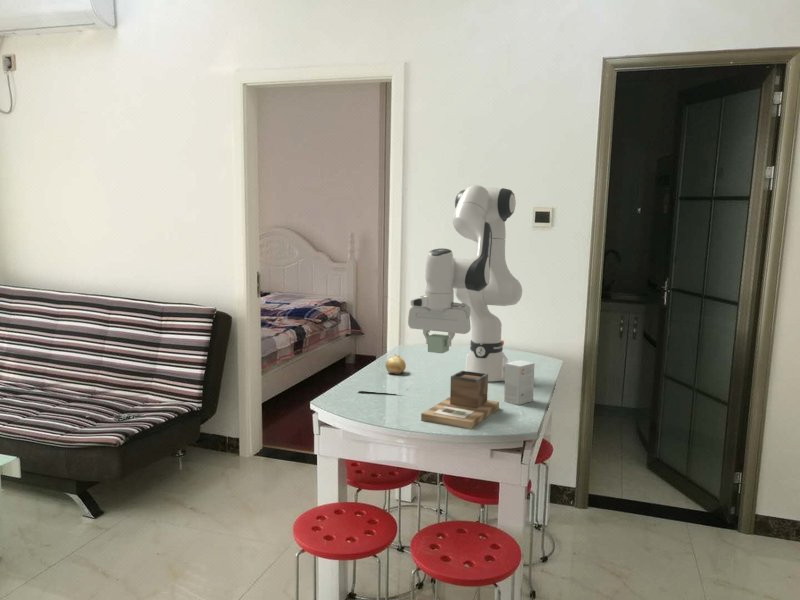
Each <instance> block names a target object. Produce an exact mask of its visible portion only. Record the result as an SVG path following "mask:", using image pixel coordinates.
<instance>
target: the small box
mask: <svg viewBox="0 0 800 600" xmlns="http://www.w3.org/2000/svg"><path fill="white" fill-rule="evenodd" d="M534 382H535V362H532V361H526V360H521V359H519V360H514V361H508V363H505V381H504V396H503V397H504V398H503V401H504V402H506V403H509V404H512V405H517V406H521V405H524V404H528V403H530V402H533V401H534V391H535V390H534V385H535V383H534Z"/></svg>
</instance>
